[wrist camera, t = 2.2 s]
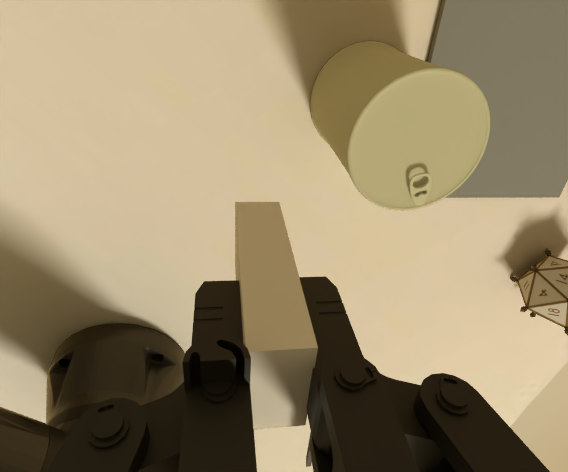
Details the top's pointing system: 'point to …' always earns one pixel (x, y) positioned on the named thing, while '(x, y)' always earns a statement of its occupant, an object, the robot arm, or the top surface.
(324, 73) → the can
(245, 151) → the top surface
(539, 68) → the mat
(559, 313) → the game die
